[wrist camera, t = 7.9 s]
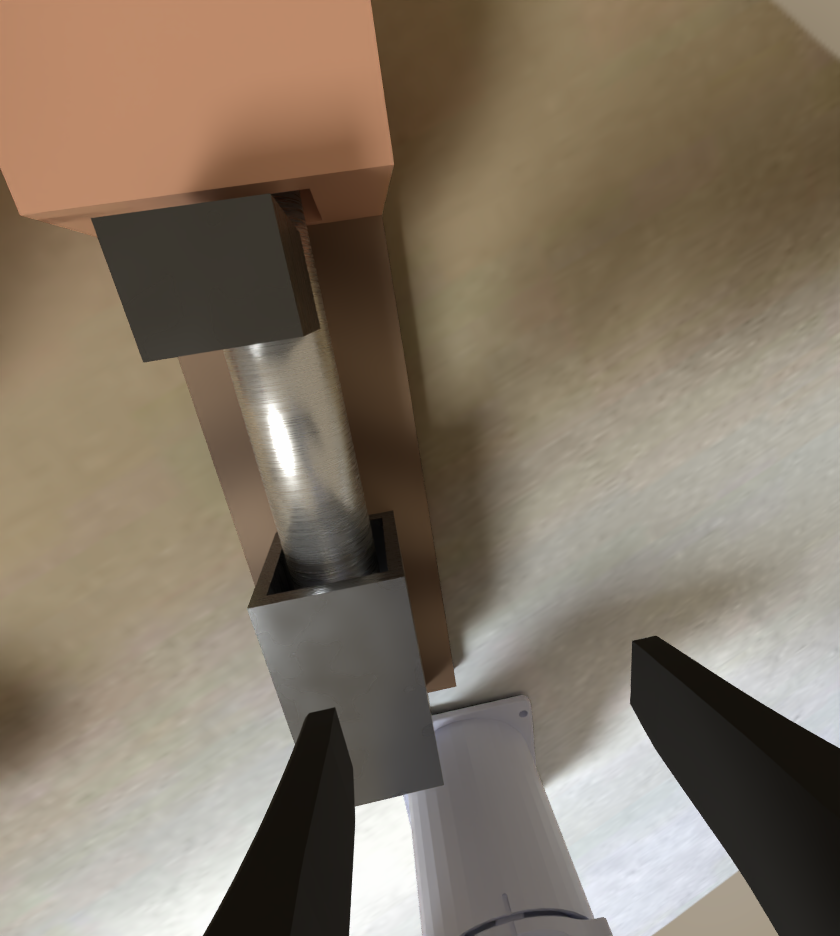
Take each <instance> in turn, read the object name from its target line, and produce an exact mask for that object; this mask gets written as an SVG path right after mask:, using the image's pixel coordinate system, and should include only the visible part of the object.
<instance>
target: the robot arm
mask: <svg viewBox="0 0 840 936" xmlns="http://www.w3.org/2000/svg"><path fill="white" fill-rule="evenodd" d="M630 704H631V706H632V708H633V710H634V711H635V713H636V715H637V717H638V719H639V721H640V723H641V724H642V726H643V728H644V730H645V732H646V733H647V735H648V737H649V739H650V740H651V742H652V744H653V746H654V748H655V749H656V751H657V752H658V754H659V755H660V757H661V758H662V760H663V761H664V762H665V764H666V765H667V767H668V768H669V770H670V771H671V773H672V774H673V775H674V777H675V778H676V780H677V781H678V783H679V784H680V786H681V787H682V788H683V790H684V791H685V793H686V794H687V796H688V797H689V799H690V800H691V801H692V803H693V804H694V806H695V807H696V809H697V810H698V811H699V813H700V814H701V816H702V817H703V819H704V820H705V821H706V823H707V824H708V826H709V827H710V829H711V830H712V831H713V833H714V834H715V836H716V837H717V839H718V840H719V841H720V843H721V844H722V846H723V847H724V849H725V850H726V851H727V853H728V854H729V856H730V857H731V859H732V860H733V862H734V863H735V865H736V866H737V868H738V869H739V871H740V872H741V874H742V875H743V877H744V878H745V880H746V882H747V883H748V885H749V886H750V888H751V890H752V891H753V893H754V895H755V896H756V898H757V900H758V901H759V903H760V905H761V906H762V908H763V910H764V911H765V913H766V915H767V916H768V918H769V920H770V921H771V923H772V925H773V926H774V928H775V930H776V932H777V933H778V935H779V936H840V748H838V747H836V746H835V745H833V744H831V743H829V742H827V741H825V740H824V739H822V738H820V737H818V736H817V735H815V734H813V733H811V732H810V731H808V730H806V729H804V728H803V727H801V726H799V725H797V724H796V723H794V722H792V721H790V720H789V719H787V718H785V717H784V716H782V715H780V714H779V713H777V712H775V711H774V710H772V709H770V708H769V707H767V706H765V705H764V704H762V703H760V702H759V701H757V700H755V699H754V698H752V697H751V696H749V695H747V694H746V693H744V692H743V691H741V690H739V689H738V688H736V687H735V686H733V685H732V684H730V683H728V682H727V681H725V680H724V679H722V678H721V677H719V676H718V675H716V674H714V673H713V672H711V671H710V670H708V669H707V668H705V667H704V666H702V665H701V664H699V663H698V662H696V661H694V660H693V659H691V658H690V657H688V656H687V655H685V654H684V653H682V652H681V651H679V650H678V649H676V648H675V647H673V646H672V645H670V644H668V643H667V642H665V641H664V640H662V639H661V638H659V637H657V636H652V637H648V638H643V639H639V640H634V641H632V665H631V697H630ZM432 720H433V726H434V731H435V737H436V742H437V748H438V754H439V759H440V765H441V770H442V776H443V782H444V785H443V786H438V787H434V788H430V789H426V790H422V791H417V792H413V793H409V794H405V795H403V797H404V801H405V805H406V809H407V813H408V817H409V821H410V825H411V830H412V839H413V849H414V859H415V869H416V879H417V889H418V899H419V909H420V919H421V929H422V936H613V935H612V932H611V930H610V927H609V925H608V922H607V920H606V918H604V917H601V918H597V919H594V916H593V913H592V911H591V908H590V906H589V903H588V901H587V898H586V895H585V893H584V890H583V888H582V885H581V882H580V880H579V877H578V875H577V872H576V870H575V867H574V864H573V862H572V859H571V857H570V854H569V851H568V849H567V846H566V844H565V841H564V839H563V836H562V833H561V831H560V828H559V826H558V823H557V820H556V818H555V815H554V813H553V810H552V808H551V805H550V802H549V800H548V797H547V795H546V792H545V789H544V787H543V784H542V782H541V779H540V777H539V774H538V771H537V769H536V760H535V747H534V734H533V721H532V709H531V703H530V700H529V698H528V697H527V696H524V695H519V696H515V697H511V698H506V699H502V700H497V701H493V702H489V703H484V704H480V705H475V706H471V707H467V708H462V709H458V710H453V711H449V712H445V713H440V714H436V715H432ZM354 835H355V799H354V774H353V766H352V762H351V759H350V756H349V752H348V749H347V745H346V742H345V739H344V735H343V732H342V728H341V725H340V722H339V718H338V715H337V711H336V708H335V707H334V708H329V709H325V710H320V711H316V712H311V713H309V714H308V715H307V716H306V717H305V719H304V722H303V725H302V728H301V731H300V733H299V736H298V739H297V741H296V744H295V746H294V749H293V752H292V754H291V757H290V759H289V761H288V764H287V766H286V769H285V771H284V773H283V776H282V778H281V781H280V783H279V785H278V787H277V790H276V792H275V794H274V796H273V799H272V801H271V803H270V805H269V808H268V810H267V812H266V814H265V816H264V819H263V821H262V823H261V825H260V827H259V829H258V831H257V834H256V836H255V838H254V840H253V842H252V844H251V846H250V848H249V850H248V852H247V854H246V856H245V858H244V860H243V862H242V864H241V866H240V868H239V870H238V872H237V874H236V876H235V878H234V880H233V882H232V884H231V885H230V887H229V889H228V891H227V893H226V895H225V897H224V899H223V900H222V902H221V904H220V906H219V908H218V910H217V912H216V913H215V915H214V917H213V919H212V921H211V922H210V924H209V926H208V928H207V929H206V931H205V933H204V935H203V936H349V925H350V908H351V890H352V872H353V854H354Z"/></svg>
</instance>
